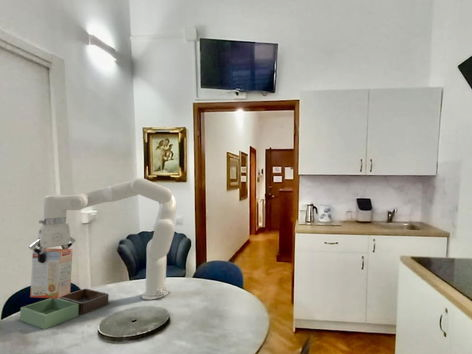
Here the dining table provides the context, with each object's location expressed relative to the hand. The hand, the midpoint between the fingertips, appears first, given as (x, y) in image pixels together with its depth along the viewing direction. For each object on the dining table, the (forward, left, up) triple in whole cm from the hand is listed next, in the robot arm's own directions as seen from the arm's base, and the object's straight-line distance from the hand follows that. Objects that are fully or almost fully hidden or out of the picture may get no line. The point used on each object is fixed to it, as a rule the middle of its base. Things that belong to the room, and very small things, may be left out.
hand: (52, 260), depth 115 cm
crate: (0, -13, -26) cm, 29 cm away
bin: (0, 0, -26) cm, 26 cm away
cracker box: (0, 0, -16) cm, 16 cm away
